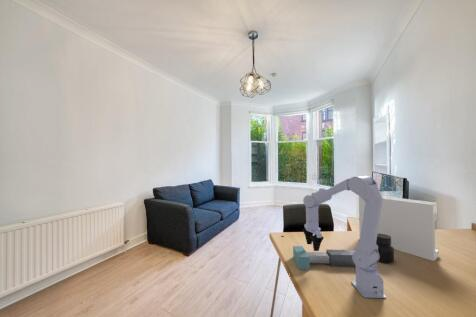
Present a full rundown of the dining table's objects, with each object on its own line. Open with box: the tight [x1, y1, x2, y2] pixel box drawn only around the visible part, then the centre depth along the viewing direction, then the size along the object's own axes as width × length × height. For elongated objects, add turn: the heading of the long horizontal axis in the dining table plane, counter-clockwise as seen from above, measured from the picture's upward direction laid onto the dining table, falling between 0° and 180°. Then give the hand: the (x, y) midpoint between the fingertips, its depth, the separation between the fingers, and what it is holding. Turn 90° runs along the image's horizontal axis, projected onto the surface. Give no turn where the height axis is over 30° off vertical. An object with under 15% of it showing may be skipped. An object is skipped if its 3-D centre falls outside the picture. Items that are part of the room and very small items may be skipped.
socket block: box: [292, 245, 311, 271], centre depth 98 cm, size 12×5×6 cm, turn 177°
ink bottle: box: [376, 234, 395, 264], centre depth 100 cm, size 10×9×12 cm
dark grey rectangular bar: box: [326, 249, 356, 268], centre depth 97 cm, size 6×14×6 cm, turn 87°
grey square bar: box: [306, 251, 330, 264], centre depth 97 cm, size 4×18×4 cm, turn 87°
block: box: [358, 195, 440, 262], centre depth 116 cm, size 35×8×28 cm, turn 33°
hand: (312, 247), depth 97 cm, fingers open, 7 cm apart
